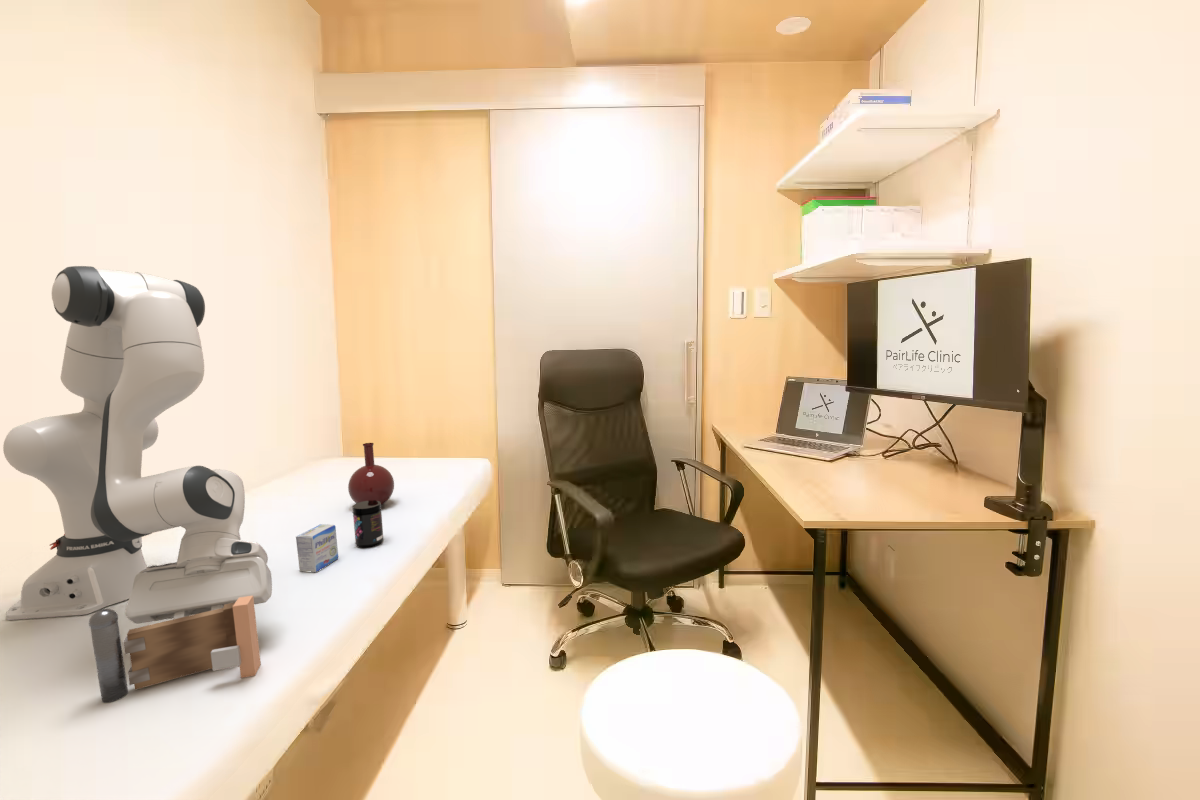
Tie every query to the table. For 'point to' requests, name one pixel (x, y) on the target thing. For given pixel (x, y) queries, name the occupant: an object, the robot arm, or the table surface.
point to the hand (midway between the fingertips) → (195, 639)
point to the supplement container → (368, 523)
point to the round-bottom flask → (370, 480)
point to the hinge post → (108, 655)
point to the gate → (178, 646)
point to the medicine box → (317, 547)
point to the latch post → (241, 641)
